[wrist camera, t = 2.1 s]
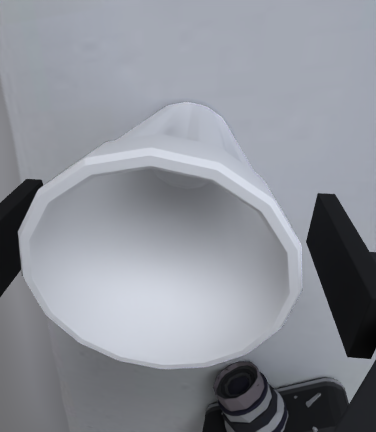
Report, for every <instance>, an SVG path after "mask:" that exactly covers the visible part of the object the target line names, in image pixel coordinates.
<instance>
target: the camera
mask: <svg viewBox="0 0 376 432" xmlns="http://www.w3.org/2000/svg"><path fill="white" fill-rule="evenodd" d="M213 388H214V391H215V395H216V397H217V398H218V403H215V404H211V405H210V406H209V407H208V408H207V410H206V414H205V421H204V426H203V431H202V432H333V430H334V429H335V427H336V425H337V424H338V422H339V420H340V419H341V417H342V415H343V414H344V412H345V410H346V409H347V407H348V405H349V402H348V399H347V395H346V391H345V388H344V387H343V385H342V384H341V383H340V382H338V381H336V380H334V379H331V378H322V379H318V380H314V381H309V382H305V383H301V384H297V385H292V386H288V387H284V388H279V389H273V388H272V387H271V386H270V385H269V384H268V383H267V380H266V378H265V377H264V375H263V374H262V373H260V372H259V370H258V368H257V367H256V366H255V365H254V364H252V363H251V362H244V361H240V362H237V363H234V364H231V365H229V366H228V367H227V368H225V369H224V370H223V371H222V372H221V373H220V374H219V375H218V376H217V378H216V381H215V383H214V386H213Z"/></svg>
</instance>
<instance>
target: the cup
mask: <svg viewBox="0 0 376 432" xmlns="http://www.w3.org/2000/svg"><path fill="white" fill-rule="evenodd" d="M18 238H19V249H20V260H21V271H22V276H23V278H24V280H25V281H26V283H27V285H28V287H29V288H30V290H31V292H32V293H33V295H34V297H35V298H36V300H37V302H38V303H39V305H40V307H41V308H42V310H43V312H44V314H45V315H46V316H48V317H49V318H50V319H51V320H52V321H53V322H55V323H56V324H57V325H58V326H59V327H61V328H62V329H63V330H64V331H65V332H67V333H68V334H69V335H70V336H71V337H73V338H74V339H75V340H76V341H77V342H79V343H81V344H83V345H85V346H87V347H90V348H92V349H94V350H96V351H98V352H100V353H103V354H105V355H107V356H109V357H111V358H114V359H116V360H118V361H122V362H127V363H132V364H137V365H143V366H148V367H153V368H158V369H182V368H203V367H209V366H212V365H215V364H218V363H221V362H225V361H228V360H231V359H234V358H237V357H240V356H243V355H246V354H248V353H249V352H251V351H252V350H253V349H255V348H256V347H257V346H259V345H260V344H261V343H263V342H264V341H265V340H267V339H268V338H269V337H271V336H272V335H273V334H275V333H276V332H277V331H279V330H280V329H281V328H282V327H283V326H284V324H285V322H286V320H287V318H288V316H289V315H290V313H291V311H292V309H293V307H294V305H295V303H296V302H297V300H298V298H299V296H300V294H301V292H302V290H303V286H302V247H301V244H300V242H299V240H298V238H297V236H296V234H295V232H294V230H293V229H292V227H291V225H290V223H289V221H288V219H287V217H286V216H285V214H284V212H283V211H282V209H281V207H280V206H279V204H278V202H277V201H276V199H275V198H274V196H273V194H272V193H271V191H270V189H269V188H268V186H267V184H266V183H265V181H264V180H263V178H262V177H261V176H260V175H258V174H257V173H255V171H254V169H253V168H252V166H251V164H250V163H249V161H248V159H247V158H246V156H245V154H244V152H243V151H242V149H241V147H240V146H239V144H238V142H237V141H236V139H235V137H234V136H233V134H232V132H231V131H230V129H229V127H228V126H227V124H226V122H225V121H224V119H223V118H222V117H221V116H219V115H218V114H217V113H215V112H214V111H213V110H211V109H210V108H208V107H207V106H204V105H200V104H195V103H190V102H182V103H176V104H171V105H167V106H165V107H164V108H162V109H161V110H159V111H158V112H156V113H155V114H153V115H152V116H150V117H149V118H147V119H146V120H145V121H143V122H142V123H140V124H139V125H137V126H136V127H134V128H133V129H131V130H130V131H128V132H127V133H126V134H124V135H123V136H121V137H120V138H118V139H117V140H114V141H107V142H105V143H103V144H102V145H100V146H99V147H97V148H96V149H95V150H93V151H92V152H90V153H89V154H87V155H86V156H84V157H83V158H82V159H80V160H79V161H77V162H76V163H74V164H73V165H71V166H70V167H69V168H67V169H66V170H64V171H63V172H62V173H60V174H59V175H57V176H56V177H55V178H53V179H52V180H51V181H49V182H48V183H46V184H45V185H44V186H42V187H41V188H40V189H38V191H37V193H36V195H35V197H34V199H33V201H32V203H31V205H30V208H29V210H28V212H27V214H26V216H25V218H24V220H23V222H22V224H21V226H20V228H19V230H18Z"/></svg>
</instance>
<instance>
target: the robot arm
mask: <svg viewBox="0 0 376 432" xmlns="http://www.w3.org/2000/svg"><path fill="white" fill-rule="evenodd" d="M42 186H43V183H42V180H35V179H26V180H25V181H24V182H23V183H22V184H21V185H19V186H18V187H17V188H16V189H15V190H14V191H13V192H12V193H11V194H9V195H8V196H7V197H6V198H5V199H4V200H3V201H2V202H1V203H0V297H1V295H2V294H3V293H4V291H5V290H6V289H7V287H8V286H9V285H10V283H11V282H12V281H13V280H14V278H15V277H16V276H17V274H18V273H19V271H20V270H21V260H20V249H19V238H18V230H19V228H20V226H21V224H22V222H23V220H24V218H25V216H26V214H27V212H28V210H29V208H30V205H31V203H32V201H33V199H34V197H35V195H36V193H37V191H38V189H40V188H41V187H42ZM306 243H307V245H308V248H309V251H310V254H311V257H312V259H313V262H314V265H315V268H316V271H317V273H318V276H319V279H320V282H321V284H322V287H323V290H324V293H325V296H326V298H327V301H328V304H329V307H330V310H331V312H332V315H333V318H334V321H335V323H336V326H337V329H338V332H339V335H340V337H341V340H342V343H343V346H344V349H345V351H346V354H347V357H353V358H366V359H371V357H372V355H373V353H374V351H375V349H376V252H369V250H368V249H367V247H366V245H365V244H364V242H363V240H362V239H361V237H360V235H359V234H358V232H357V230H356V229H355V227H354V225H353V224H352V222H351V220H350V219H349V217H348V215H347V214H346V212H345V210H344V209H343V207H342V205H341V204H340V202H339V200H338V199H337V197H336V195H335V194H321V193H318V195H317V199H316V203H315V207H314V211H313V216H312V220H311V224H310V228H309V232H308V236H307V240H306ZM333 432H376V360H375V362H374V364H373V365H372V367H371V369H370V370H369V372H368V374H367V375H366V377H365V379H364V380H363V382H362V384H361V385H360V387H359V389H358V390H357V392H356V394H355V395H354V397H353V399H352V400H351V402H350V404H349V405H348V407H347V409H346V410H345V412H344V414H343V415H342V417H341V419H340V420H339V422H338V424H337V425H336V427H335V429H334V430H333Z"/></svg>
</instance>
